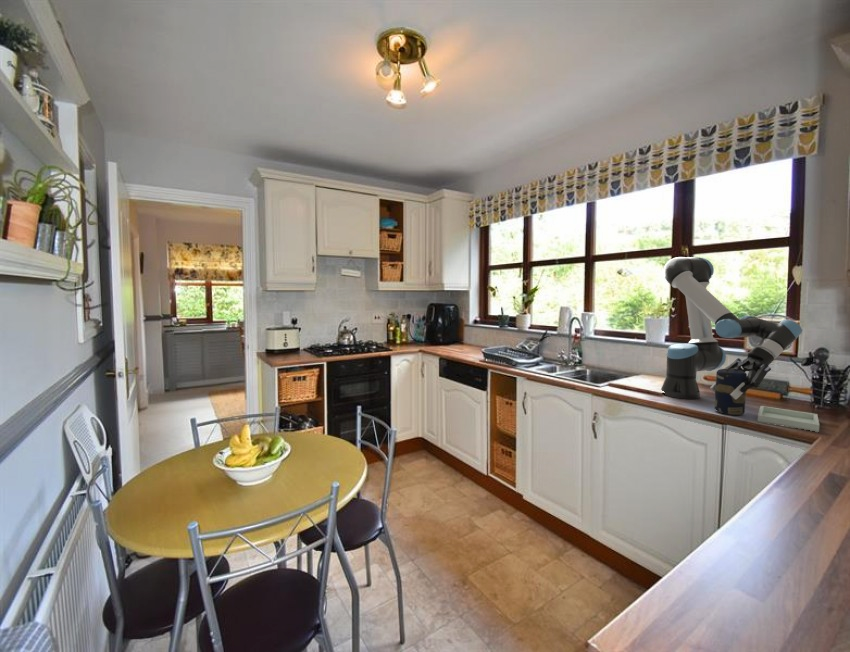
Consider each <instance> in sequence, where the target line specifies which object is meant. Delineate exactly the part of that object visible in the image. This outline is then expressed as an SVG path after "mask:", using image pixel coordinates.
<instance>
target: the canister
mask: <svg viewBox="0 0 850 652" xmlns="http://www.w3.org/2000/svg"><path fill="white" fill-rule="evenodd" d="M747 376H748V374H747V373H746V372H744V371H740V370H737V369H734V368H730V369H725V368H718V369H717V371H716V377H715V382H716V390H715V392H714V410H715V411H717V412H719V413H721V414H725V415H732V416H741V415H744V414H745V411H746V397H747V391H746V392H745V393H743V394H742V395H741V396H740V397H738V398H737V399H734V398H733V397H732V396H731V395H730V394H731V393H732V392H733V391H734V390H735V389H736V388H737V387H738V386H739V385H740V384H741V383H742V382H743V383H745V382H744V381H746V379H747ZM745 384H746V383H745Z"/></svg>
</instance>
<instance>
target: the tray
mask: <svg viewBox="0 0 850 652" xmlns="http://www.w3.org/2000/svg"><path fill="white" fill-rule="evenodd" d="M759 407H760V408H759V410H758V413H757V423H760V422H763V423H762V424H765V423H769V424H768V425H771V424H776V425H775V426H777V425H784V426H788V427H787V428H789V427H793V428H792V429H795V428H798V429H797V430H801V429H804V430H803V431H806V430H810V431H809V432H812V431H815V432H814V433H818V432H819V433H820V421H819V417H818V415H819V414H818V413H813V412H812V413H811V412H807V411H806V412H805V411H799V410H793V409H786V408H785V409H784V408H778V407H772V406H766V405H760V406H759Z"/></svg>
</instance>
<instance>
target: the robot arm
mask: <svg viewBox="0 0 850 652" xmlns="http://www.w3.org/2000/svg"><path fill="white" fill-rule="evenodd" d="M714 271H715V270H714V265H713V263H712V262H711V261H710V260H708V259H707V258H705V257H699V256H693V257H692V256H691V257H690V256H687V257H685V256H678V257H673V258H671V259H670V260H668V261H667V262H666V263H665V265H664V267H663V277H664V279H665V280H666V282H667V283H668V284H669V285H670V286H672V288H674V289H678V290H679V291H680V292H681V293H682V294H683V295H684V296H685V297H684V298H685V301H686V303H685V304H686V310H687V311H686V312H687V318H688V327H689V332H690V333H689V334H690V340H689V341H688V342H687V343H685V342H684V343H675V344H671V345H669V346H668V347H667V352H666V372H665V373H666V374H665V379H664V381H663V383H662V385H661V389H660V391H661V390H662V391H664V392H665V395H664V396H666V395H667V397H669V398H670V397H672V398H675V399H682V400H683V399H685V400H694V399H695V400H696V399H700V397H701V391H700V388H699V385H698V382H697V373H698V372H705V371H707V372H711V371H714V370H719V369H721V368H722V366H723V365H724V364H725V363H726V359H727V355H726V350H724V348H723V347H721V346H720V345H719V342H718V341H719V340H717V339H716V338H714V336H713V335H714V334H713V327H712V323H713V324H714V325H715V326H714V329H715V332H716V334H717V335H718V336H719V337H721V338H723V339H725V338H726V339H727V338H728V339H735V338H751V337H754V338H758V339H760V341H759V342H758V343H757V344H756V345H755V346H754V347H753V348H752V349H750V351H749V352H748V353H747V357H746V358H745V359H741V358H740V357H738V358H736V359H735V360H734V362H732V363H730V364H729V365H728V366H726V367H725V368H724V369H730V368H734V369H737V370H740V371H744V372H745V373H746V372H748V374H747V379H746V381H744V382H745V383H746V384H745V383H743V382H742V383H741V384H740V385H739V386H738V387H737V388H736V389H735V390H734V391H733V392H732V393H731V394H730V395H731V396H732V397H733V398H734V399H737V398H738V397H740V396H741V395H742V394H743V393H745V392H746V393H747V391H748V390H749V389H750V388H751V389H752V388H759V386H760V385H761V383H762V382H763V381H764V378H765V377H766V375H767V374H768V373H769V372H771V370H772V367H770V365H771V364H772V362H774V361H775V359H777V358H778V357H779V355H781V354H782V353H783V351H785V350H786V349H787V348H788V347H789V346H790V345H791V344H793V342H794V341H796V340H797V339H798V338H799V336H800V335H801V334H802V333H803V328H802V327H801V325H800V324H799V323H797V322H796V321H794V320H790V319H783V320H781V321H779V322H778V323H776V322H772V321H769V320H766V319H762V318H759V317H757V316H753V315H743V316H741V317H740V318H739V317H738V316H736V315H735V314H734V313H733V312H731V310H729V308H727V307H726V306H725V305H724V304H723V303H722V302H721V301H720V300H718V298H716V297H715V295H714V294H712V293H711V292H710V291H709V290H708V289H707V287H708V286H709V285H710V280H711V278H712V276H713V274H714ZM709 388H710V389H711V391H712V392H713V393H715V390H716V381H715V382H714V383H713V384H712V385H711V386H710V387H709Z"/></svg>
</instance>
